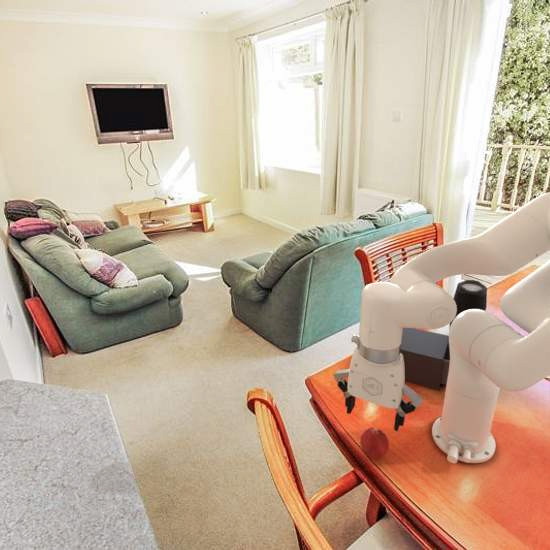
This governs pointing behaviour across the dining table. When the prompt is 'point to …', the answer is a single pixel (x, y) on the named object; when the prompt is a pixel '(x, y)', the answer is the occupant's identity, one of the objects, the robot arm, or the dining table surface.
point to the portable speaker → (470, 296)
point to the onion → (374, 443)
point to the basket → (445, 366)
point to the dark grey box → (423, 356)
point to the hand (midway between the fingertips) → (373, 417)
